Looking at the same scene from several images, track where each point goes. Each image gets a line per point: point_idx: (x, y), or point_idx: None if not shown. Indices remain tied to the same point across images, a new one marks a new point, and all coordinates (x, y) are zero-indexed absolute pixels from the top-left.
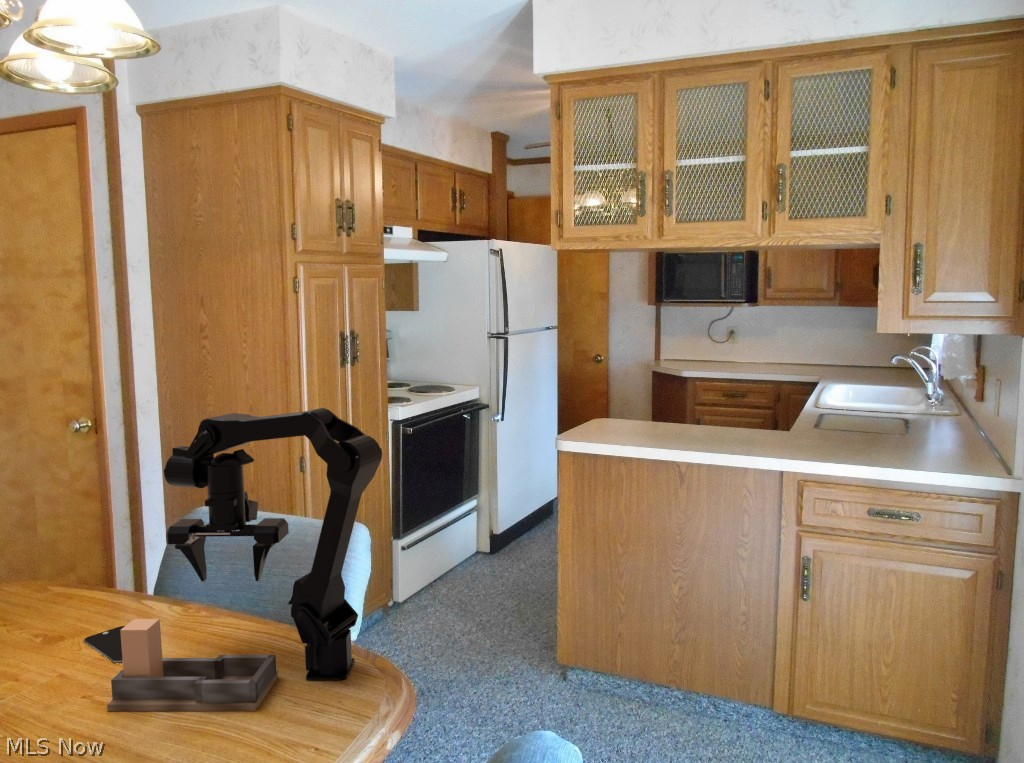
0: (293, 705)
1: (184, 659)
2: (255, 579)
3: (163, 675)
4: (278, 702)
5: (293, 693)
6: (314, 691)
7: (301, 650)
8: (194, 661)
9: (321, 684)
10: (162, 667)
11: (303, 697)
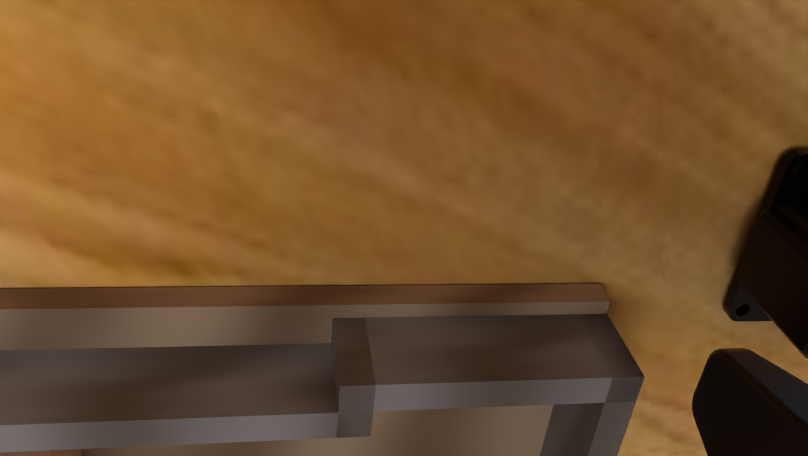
0: (670, 451)
1: (156, 431)
2: (699, 432)
3: None
4: None
5: (669, 388)
6: None
7: (708, 4)
8: (224, 438)
9: (778, 330)
10: (54, 450)
11: None
